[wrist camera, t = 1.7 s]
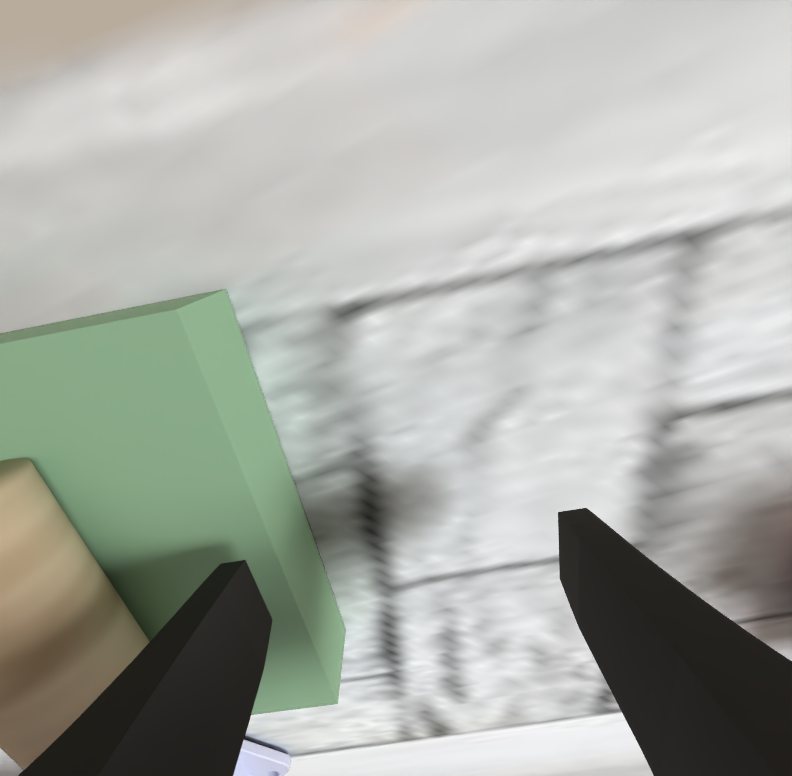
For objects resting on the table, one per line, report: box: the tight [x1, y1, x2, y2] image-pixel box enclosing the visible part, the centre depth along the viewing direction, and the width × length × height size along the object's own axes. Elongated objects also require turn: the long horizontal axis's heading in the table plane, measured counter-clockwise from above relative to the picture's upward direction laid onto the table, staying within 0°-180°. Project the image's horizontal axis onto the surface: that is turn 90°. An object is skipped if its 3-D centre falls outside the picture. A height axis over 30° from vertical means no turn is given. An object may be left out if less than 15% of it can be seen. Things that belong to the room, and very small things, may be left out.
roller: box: [0, 458, 150, 770], centre depth 9 cm, size 8×3×3 cm
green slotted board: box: [0, 289, 346, 715], centre depth 12 cm, size 14×13×2 cm
